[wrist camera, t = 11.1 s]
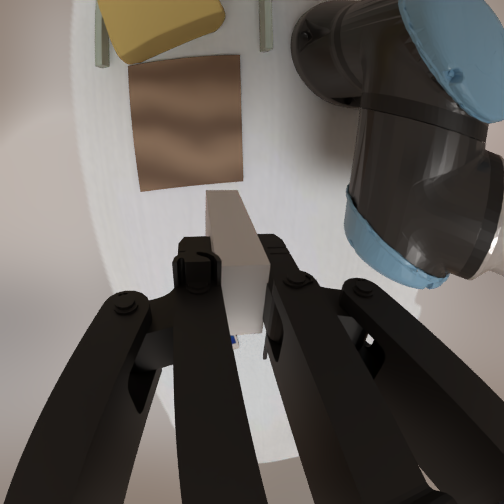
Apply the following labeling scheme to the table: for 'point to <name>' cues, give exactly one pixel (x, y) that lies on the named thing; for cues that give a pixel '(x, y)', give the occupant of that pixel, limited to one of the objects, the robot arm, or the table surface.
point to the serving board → (187, 121)
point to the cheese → (157, 24)
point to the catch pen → (103, 36)
